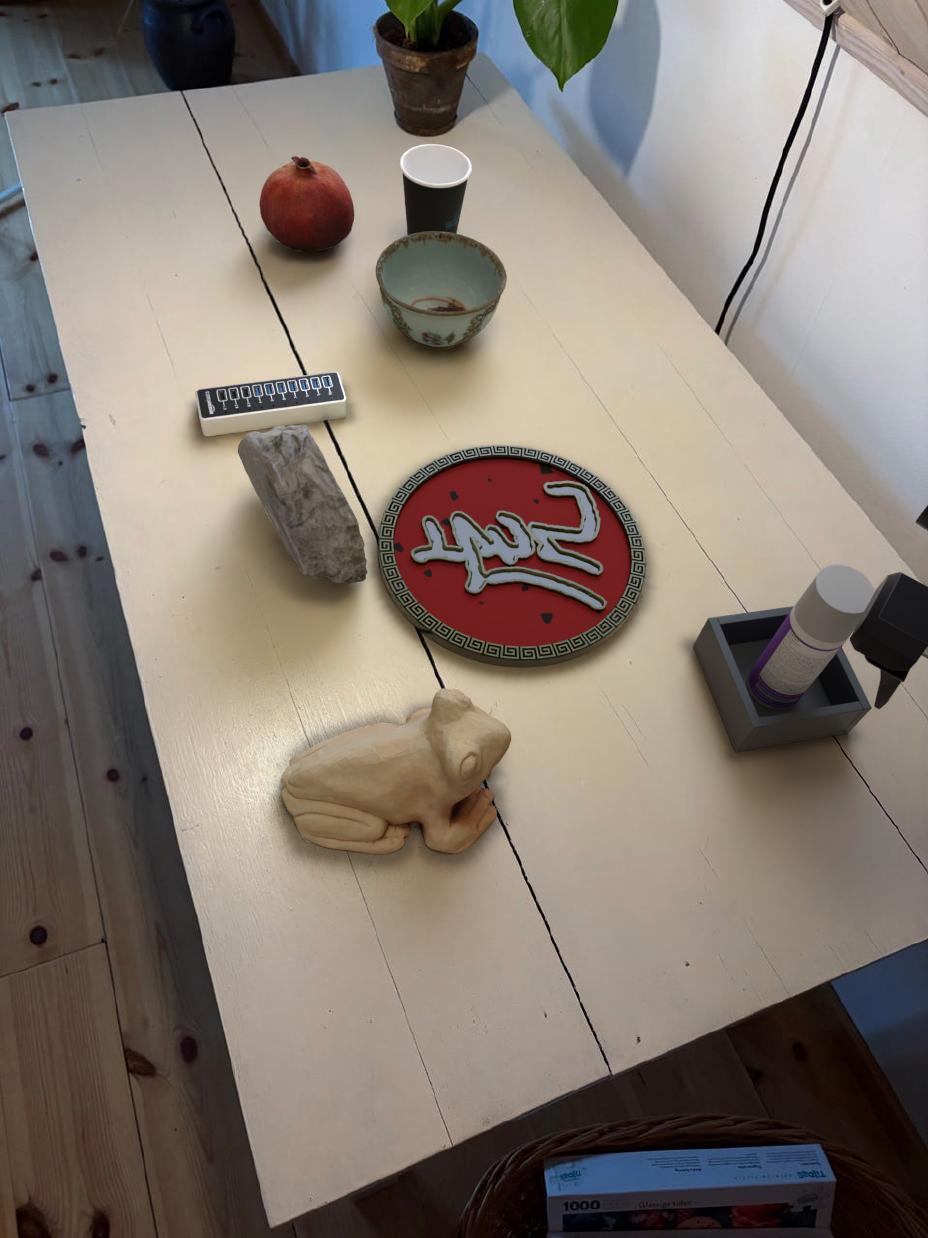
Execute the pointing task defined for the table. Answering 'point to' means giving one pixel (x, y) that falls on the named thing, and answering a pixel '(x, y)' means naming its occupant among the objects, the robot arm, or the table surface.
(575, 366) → the table surface
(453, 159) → the dixie cup
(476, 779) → the figurine
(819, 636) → the container
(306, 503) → the decorative rock
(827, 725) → the storage bin
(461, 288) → the bowl
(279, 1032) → the table surface
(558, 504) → the decorative plate
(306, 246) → the fruit
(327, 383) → the multiport hub
